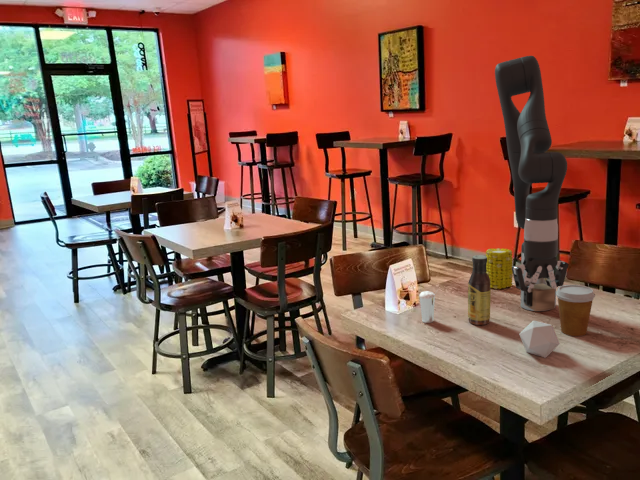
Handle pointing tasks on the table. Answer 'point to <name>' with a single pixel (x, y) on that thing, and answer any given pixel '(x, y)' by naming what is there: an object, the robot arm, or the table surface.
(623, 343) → the table surface
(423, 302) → the milkshake
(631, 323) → the table surface
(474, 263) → the sauce bottle
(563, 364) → the table surface
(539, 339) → the die
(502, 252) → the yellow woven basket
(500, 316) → the table surface
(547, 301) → the walnut cube
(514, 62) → the robot arm
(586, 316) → the disposable coffee cup
